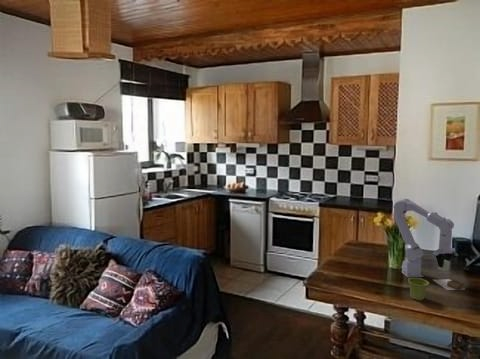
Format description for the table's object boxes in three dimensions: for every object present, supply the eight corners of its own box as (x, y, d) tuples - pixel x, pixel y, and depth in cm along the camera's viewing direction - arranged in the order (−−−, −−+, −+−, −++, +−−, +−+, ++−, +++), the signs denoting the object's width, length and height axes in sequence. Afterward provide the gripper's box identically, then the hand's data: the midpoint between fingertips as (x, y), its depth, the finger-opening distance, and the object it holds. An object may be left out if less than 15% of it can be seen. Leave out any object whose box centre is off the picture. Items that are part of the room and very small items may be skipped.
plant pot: (422, 294, 202) (423, 277, 201) (431, 302, 193) (432, 284, 192) (403, 294, 202) (404, 277, 201) (412, 302, 193) (413, 285, 192)
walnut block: (457, 289, 206) (457, 285, 206) (447, 285, 211) (447, 281, 211) (465, 288, 208) (465, 283, 208) (454, 283, 214) (455, 279, 214)
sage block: (444, 271, 214) (444, 262, 213) (437, 269, 217) (438, 260, 216) (449, 270, 215) (450, 261, 214) (442, 267, 219) (443, 259, 218)
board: (447, 291, 206) (447, 289, 206) (432, 280, 220) (432, 279, 220) (465, 290, 207) (465, 289, 207) (449, 280, 221) (449, 279, 221)
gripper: (442, 245, 208) (440, 270, 209) (461, 242, 214) (459, 266, 215) (430, 242, 214) (429, 266, 216) (449, 239, 220) (447, 262, 222)
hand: (443, 266), depth 216 cm, fingers closed on sage block, 4 cm apart
